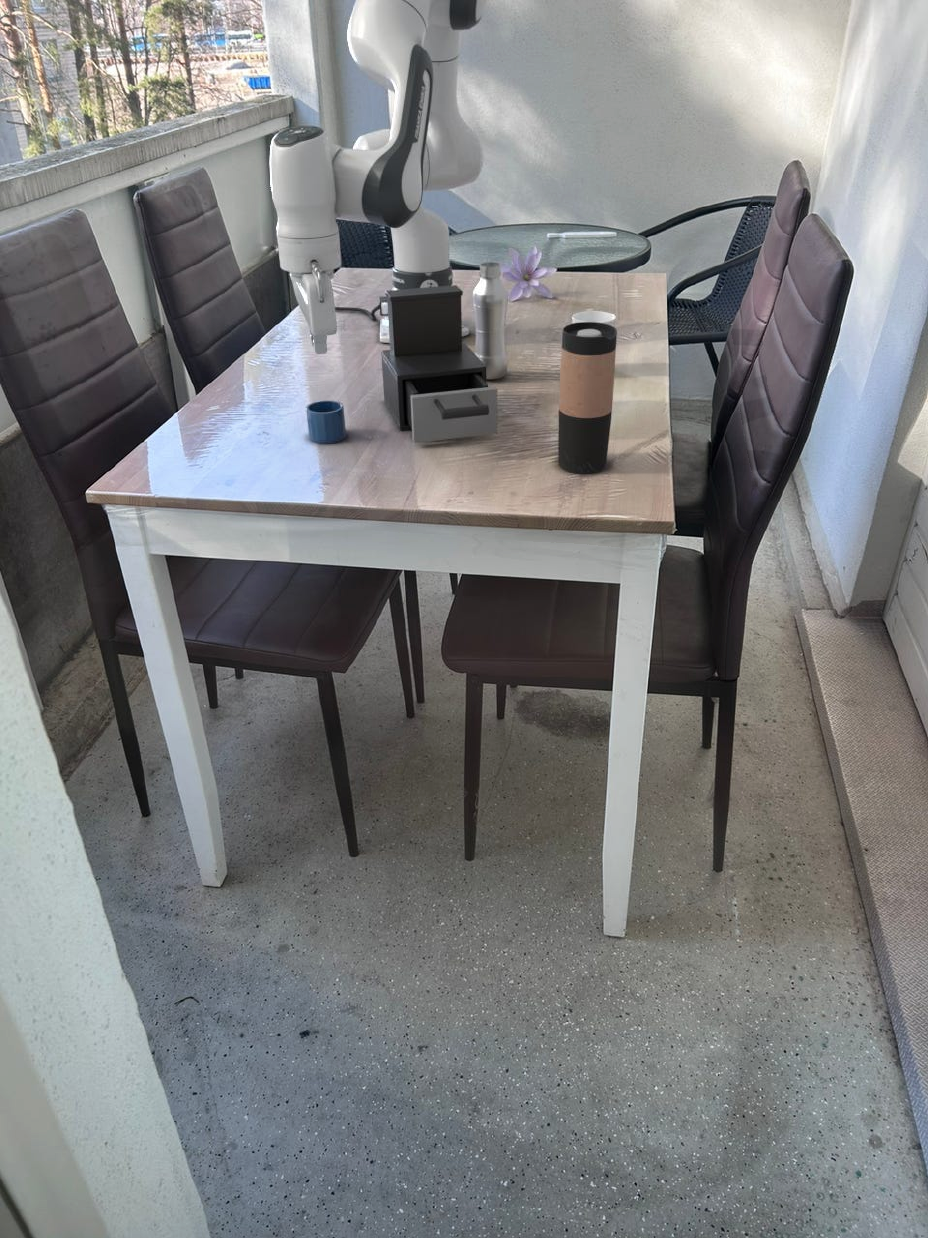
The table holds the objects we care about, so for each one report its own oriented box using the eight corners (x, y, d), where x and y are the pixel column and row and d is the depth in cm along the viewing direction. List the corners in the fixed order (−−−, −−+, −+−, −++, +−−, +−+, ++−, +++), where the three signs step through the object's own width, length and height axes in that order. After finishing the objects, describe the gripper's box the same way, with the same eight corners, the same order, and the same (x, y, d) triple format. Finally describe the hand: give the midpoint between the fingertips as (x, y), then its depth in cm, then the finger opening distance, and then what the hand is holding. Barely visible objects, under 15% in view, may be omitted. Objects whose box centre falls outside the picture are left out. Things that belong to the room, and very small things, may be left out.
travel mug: (552, 455, 145) (557, 322, 134) (602, 452, 145) (611, 320, 134) (561, 476, 138) (567, 338, 127) (612, 473, 139) (623, 336, 128)
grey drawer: (509, 449, 145) (509, 402, 141) (423, 459, 142) (421, 412, 138) (476, 406, 160) (475, 364, 156) (398, 415, 157) (395, 372, 153)
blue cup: (307, 432, 154) (304, 402, 151) (342, 428, 155) (340, 398, 152) (311, 445, 149) (308, 415, 147) (348, 441, 150) (345, 411, 148)
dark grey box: (486, 420, 157) (486, 366, 152) (400, 430, 154) (397, 375, 149) (465, 393, 168) (464, 342, 163) (384, 402, 165) (381, 350, 160)
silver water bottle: (512, 373, 177) (513, 261, 166) (501, 384, 172) (502, 269, 161) (479, 370, 179) (478, 259, 168) (467, 381, 174) (466, 267, 163)
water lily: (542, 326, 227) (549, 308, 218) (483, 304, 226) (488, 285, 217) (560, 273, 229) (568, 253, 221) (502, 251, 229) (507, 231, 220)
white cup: (610, 378, 174) (614, 323, 168) (567, 376, 175) (570, 321, 170) (613, 365, 180) (617, 311, 175) (572, 363, 182) (574, 309, 176)
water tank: (388, 349, 160) (385, 290, 155) (457, 343, 163) (456, 284, 158) (393, 357, 157) (390, 296, 152) (463, 350, 160) (462, 290, 154)
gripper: (342, 268, 129) (350, 368, 137) (322, 238, 146) (330, 329, 153) (296, 271, 128) (306, 372, 135) (280, 241, 145) (291, 332, 152)
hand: (319, 349), depth 145 cm, fingers closed
